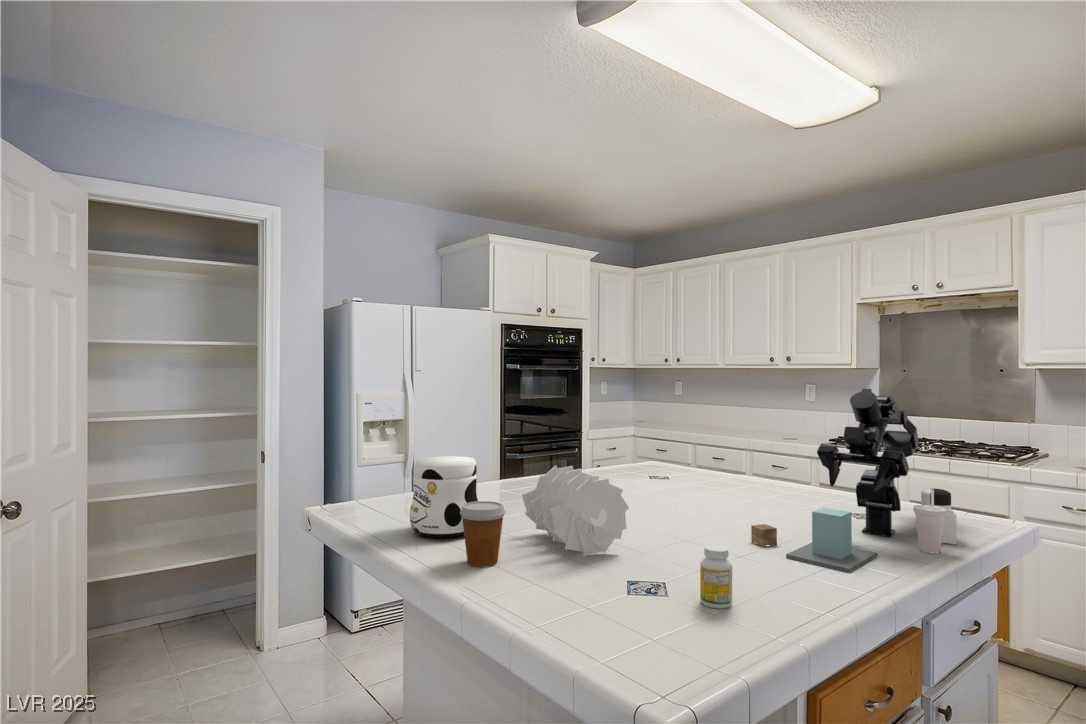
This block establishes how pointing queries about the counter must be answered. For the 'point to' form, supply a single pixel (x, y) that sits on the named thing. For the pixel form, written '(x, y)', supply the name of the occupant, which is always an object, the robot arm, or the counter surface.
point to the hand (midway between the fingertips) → (851, 488)
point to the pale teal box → (832, 533)
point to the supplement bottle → (716, 577)
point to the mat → (843, 564)
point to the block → (764, 534)
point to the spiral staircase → (577, 509)
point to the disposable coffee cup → (482, 531)
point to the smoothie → (930, 525)
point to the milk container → (442, 494)
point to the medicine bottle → (950, 521)
